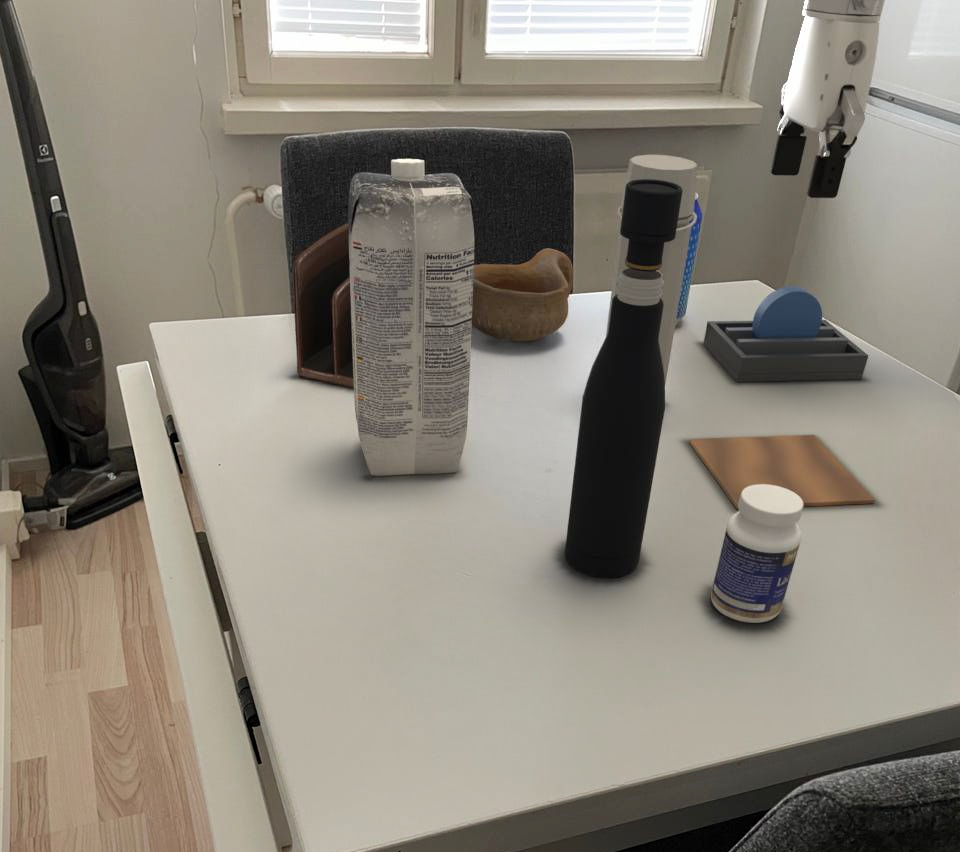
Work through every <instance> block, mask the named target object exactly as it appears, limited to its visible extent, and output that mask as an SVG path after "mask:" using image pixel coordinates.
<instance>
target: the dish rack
mask: <svg viewBox="0 0 960 852" xmlns="http://www.w3.org/2000/svg"><path fill="white" fill-rule="evenodd" d="M752 325H753V320H708V321H707V323H706V327H705V333H704V339H703V346H704V347H705V348H706V349H707V350H708V352H709V353H710V354H711V355H712V356H713V357H714V358H715V360H717V361H718V363H719V364H720V365H721V366H722V367H723V368H724V370H725V371H726V372H727V373H728V374H729V375H730V376H731V377H732V378H733V380H734V381H735V382H736V383H750V382H751V383H754V382H759V383H760V382H790V381H791V382H794V381H795V382H797V381H798V382H801V381H835V380H836V381H839V380H840V381H842V380H844V381H845V380H862V379H863V376H864V373H865V369H866V366H867V362H868V359H869V354H868V353H866V352H865V351H863V350H862V348H860V347H859V346H858V345H856V343H854V342H853V341H852V340H851V339H849V338H848V337H847V336H846V335H844V334H843V333H842V332H841V331H840V330H839V329H838V328H836V327H835V326H834V325H832V324H831V323H830V322H829V321H828V320H827V319H822V322H821V326H820V329H819V331H818V333H817V335H816V337H815V338H773V339H755V337H754V334H753V327H752Z"/></svg>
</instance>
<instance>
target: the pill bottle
mask: <svg viewBox="0 0 960 852" xmlns="http://www.w3.org/2000/svg"><path fill="white" fill-rule="evenodd" d="M737 510H738V511H737V512H736V513H734V514H733V515H732V516H731V517H730V518H729V519H728V521H727V523H726V524H727V525H726V527H725V532H724V537H723V539H722V545H721V549H720V554H719V558H718V561H717V566H716V570H715V574H714V579H713V583H712V586H711V591H710V599H711V603H712V605H713V606H714V608H715V609H716V610H718V611H719V613H721V614H722V615H724V616H725V617H727V618H729V619H733V620H735V621H738V622H743V623H749V624H750V623H751V624H759V623H765V622H768V621H771V620H773V619H774V618H776V617H777V616H778V615H779V614H780V612H781V610H782V607H783V604H784V601H785V596H786V595H787V594H786V593H787V591H788V587H789V583H790V580H791V576H792V573H793V569H794V565H795V563H796V559H797V556H798V552H799V549H800V545H801V541H802V532H801V529H800V527H799V525H798V524H797V523H799V521H800V520H801V517H802V514H803V511H804V506H803V501H802V499H801V498H800V497H799V496H798V495H797V494H796V493H794V492H792V491H790V490H788V489H786V488H782V487H779V486H774V485H767V484H758V485H751V486H748V487H746V488H745V489H744V490H743V491H742V493H741V496H740V499H739V503H738V509H737Z"/></svg>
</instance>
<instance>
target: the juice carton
mask: <svg viewBox="0 0 960 852" xmlns="http://www.w3.org/2000/svg"><path fill="white" fill-rule="evenodd" d="M390 171H391V172H390V173H391V174H385V173H378V172H377V173H376V172H357V173H355V174H354V175H353V176H352V179H351V181H350V185H349V192H348V216H347V217H348V223H349V264H350V293H351V321H352V349H353V377H354V388H353V399H354V412H355V419H356V423H357V432H358V437H359V438H358V439H359V443H360V447H361V450H362V453H363V457H364V460H365V463H366V466H367V468H368V471H369V473H370V475H371V476H374V477H375V476H377V477H378V476H379V477H381V476H382V477H384V476H402V475H423V474H425V475H426V474H428V475H429V474H431V475H432V474H433V475H434V474H451V473H452V474H453V473H456V472H457V471H458V469H459V466H460V462H461V459H462V455H463V451H464V448H465V444H466V443H465V442H466V440H467V439H466V438H467V433H468V421H469V419H468V418H469V401H470V400H469V399H470V398H469V397H470V375H471V351H472V327H473V326H472V302H473V275H474V265H475V229H474V220H475V219H474V217H475V206H474V200H473V199H472V197H471V195H470V194H469V193H468V191H467V190H466V189H465V187H464V184H463V182H462V180H461V179H460V177H459V176H458V175H457V174H455V173H452V172H445V173H444V172H443V173H433V174H425V173H426V172H425V171H426V170H425V160H424V159H418V158H397V159H391V161H390Z"/></svg>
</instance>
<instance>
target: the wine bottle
mask: <svg viewBox="0 0 960 852" xmlns="http://www.w3.org/2000/svg"><path fill="white" fill-rule="evenodd" d="M682 192H683V190H682V187H680V186H679V185H677V184H675V183H672V182H667V181H662V180H652V179H640V180H633V181H630V182H628V183H627V184H626V188H625V196H624V204H623V212H621V215H622V219H621V227H620V226H619V228H620V234H621V235H622V236H623V237H625V238H627V239H629V242H628V249H627V257H626V258H625V264H626V266H627V267H629V268H625V269H623V270H622V271H621V275H620V276H619V277H618V282H619V286H618V287H617V288H616V289H617V292H618V294H616V295H615V296H614V297H613V298H612V305H611V313H610V321H609V328H608V334H607V336H606V335H605V339H604V340H603V342H602V345H601V346H600V349H599V350H598V352H597V355H596V357H595V359H594V361H593V362H592V363H593V364H592V366H591V369H590V372H589V374H588V377H587V380H586V383H585V387H584V390H583V394H582V400H581V408H580V415H579V416H580V417H579V426H578V434H577V443H576V450H575V460H574V468H573V477H572V485H571V486H572V487H571V495H570V503H569V510H568V511H569V513H568V520H567V529H566V538H565V546H564V547H565V548H564V558H565V560H566V561H567V563H568V565H570V567H572V568H573V569H575V570H576V571H578V572H580V573H582V574H584V575H586V576H587V575H588V576H590V577H595V578H603V579H604V578H605V579H612V578H619V577H622V576H623V577H624V576H626V575H628V574H630V573H632V572H633V571H634V570H636V569H637V567H638V565H639V562H640V556H641V551H642V545H643V540H644V535H645V534H644V533H645V528H646V521H647V517H648V510H649V505H650V498H651V492H652V486H653V482H654V475H655V469H656V462H657V458H658V452H659V446H660V440H661V435H662V434H661V433H662V428H663V421H664V415H665V410H666V384H665V378H664V369H663V363H662V357H661V352H660V346H659V340H658V339H659V332H660V326H661V319H662V313H663V307H664V303H663V300H662V299H661V298H660V297H661V296H662V294H663V292H662V290H661V287H662V286H663V285H664V281H663V274H662V273H661V272H659V271H657V270H658V269H660V268H661V267H662V256H663V249H664V243H665V242H670V241H672V240H674V239H675V236H676V230H677V224H678V217H679V211H680V205H681V198H682Z"/></svg>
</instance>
